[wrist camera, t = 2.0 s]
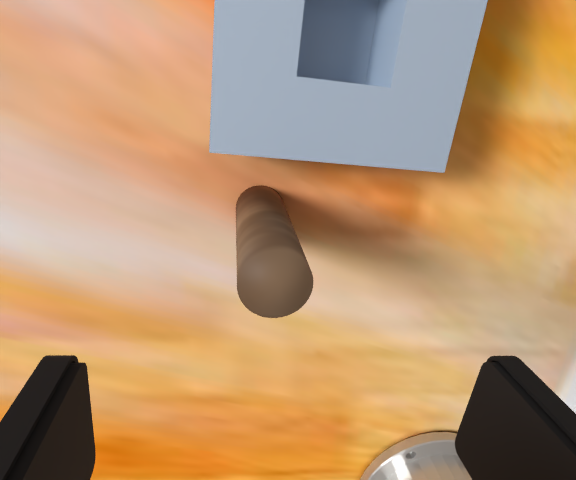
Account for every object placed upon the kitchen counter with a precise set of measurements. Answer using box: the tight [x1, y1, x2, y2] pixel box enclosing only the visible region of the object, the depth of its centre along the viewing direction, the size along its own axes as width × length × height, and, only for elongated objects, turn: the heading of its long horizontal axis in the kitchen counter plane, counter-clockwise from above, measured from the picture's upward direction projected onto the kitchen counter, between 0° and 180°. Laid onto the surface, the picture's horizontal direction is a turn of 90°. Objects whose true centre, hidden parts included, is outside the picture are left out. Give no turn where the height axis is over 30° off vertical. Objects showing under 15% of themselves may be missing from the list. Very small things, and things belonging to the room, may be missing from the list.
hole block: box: [209, 0, 488, 173], centre depth 19 cm, size 12×12×4 cm
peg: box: [236, 186, 313, 318], centre depth 20 cm, size 3×3×10 cm
